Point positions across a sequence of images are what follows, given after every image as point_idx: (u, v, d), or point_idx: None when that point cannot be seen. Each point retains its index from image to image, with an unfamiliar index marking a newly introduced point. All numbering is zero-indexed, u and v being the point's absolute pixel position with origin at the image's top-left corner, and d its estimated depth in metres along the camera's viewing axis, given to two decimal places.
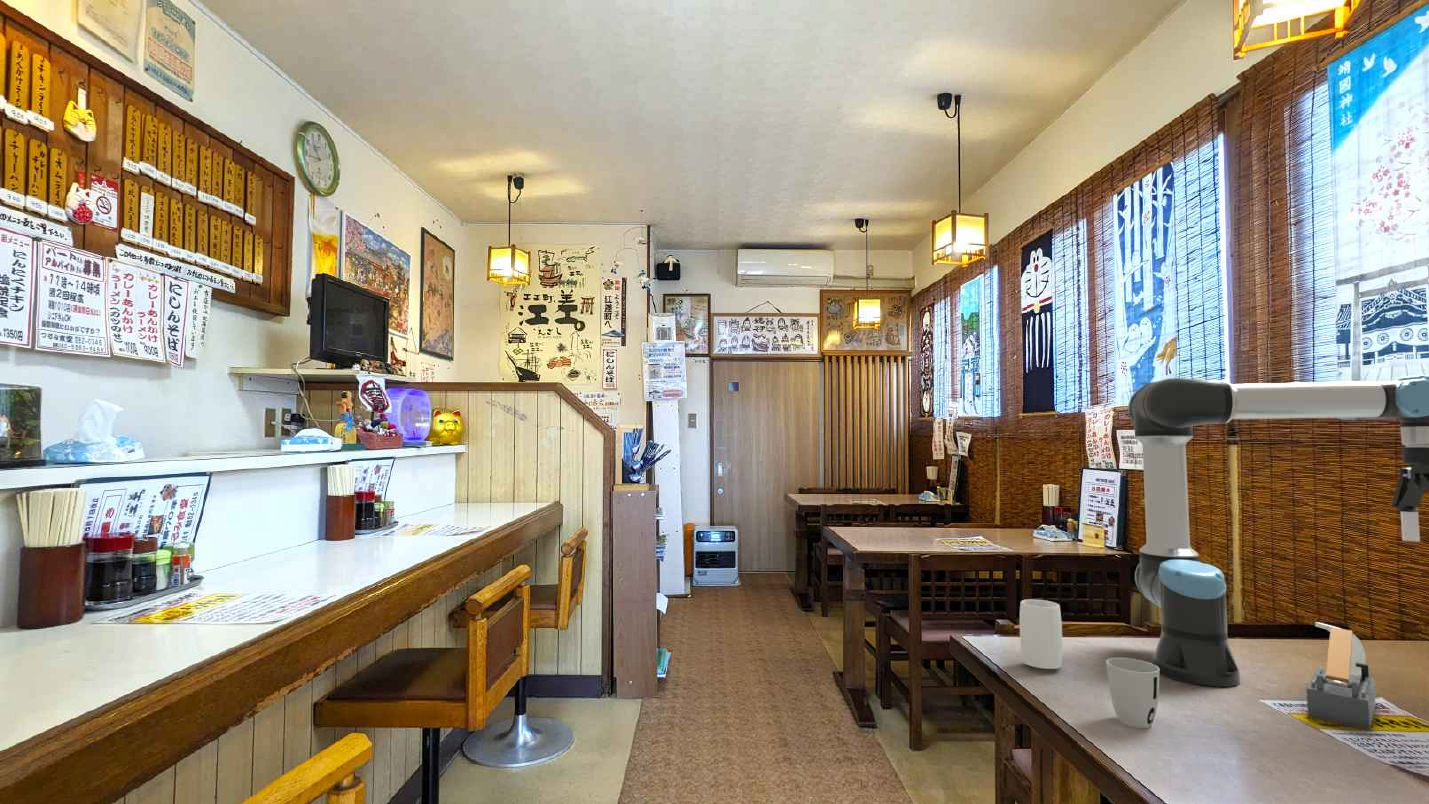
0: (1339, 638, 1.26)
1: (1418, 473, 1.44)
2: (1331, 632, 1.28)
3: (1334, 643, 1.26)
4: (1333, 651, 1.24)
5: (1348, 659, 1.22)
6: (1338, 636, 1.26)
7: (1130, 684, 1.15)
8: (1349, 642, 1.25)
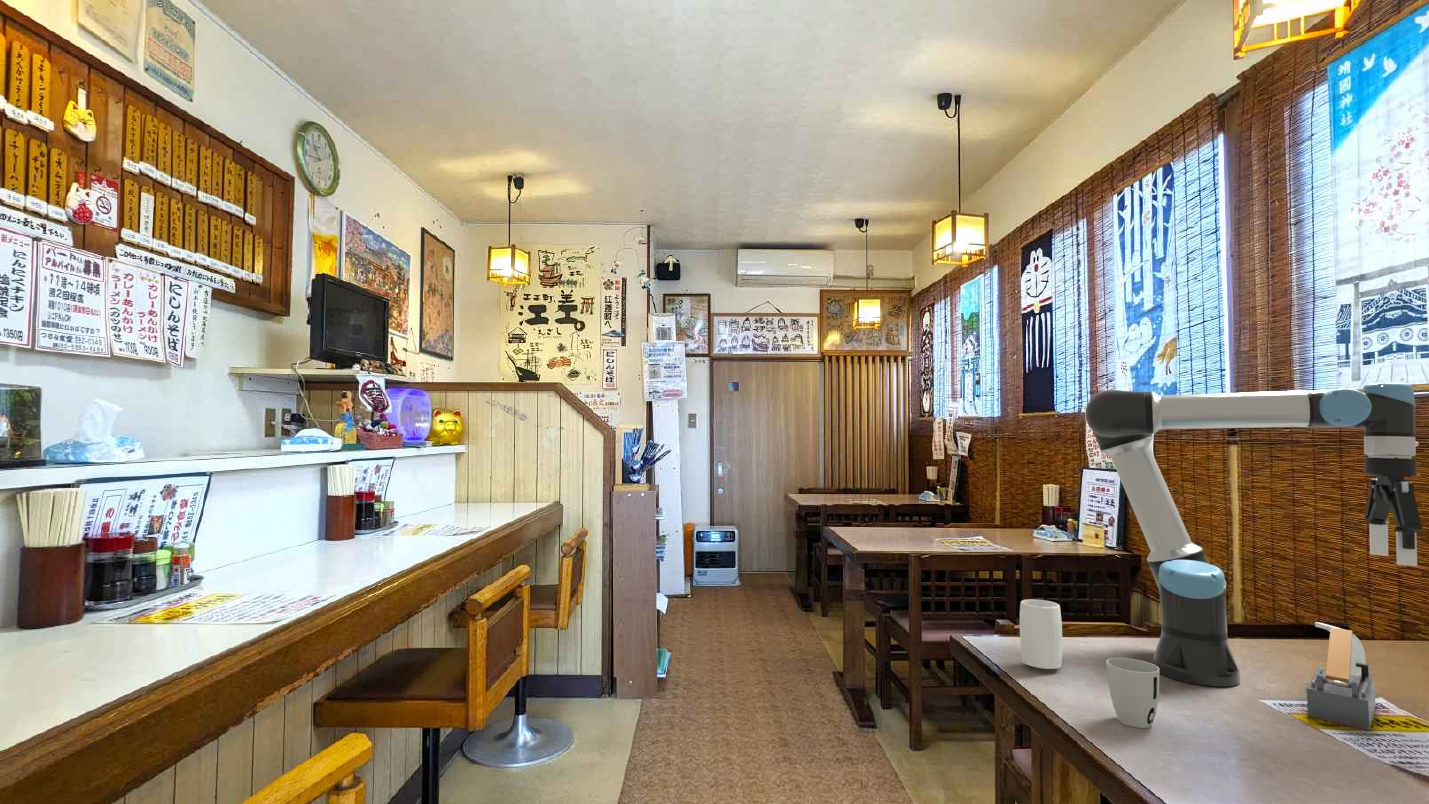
0: (1339, 638, 1.26)
1: (1380, 484, 1.38)
2: (1331, 632, 1.28)
3: (1334, 643, 1.26)
4: (1333, 651, 1.24)
5: (1348, 659, 1.22)
6: (1338, 636, 1.26)
7: (1130, 684, 1.15)
8: (1349, 642, 1.25)
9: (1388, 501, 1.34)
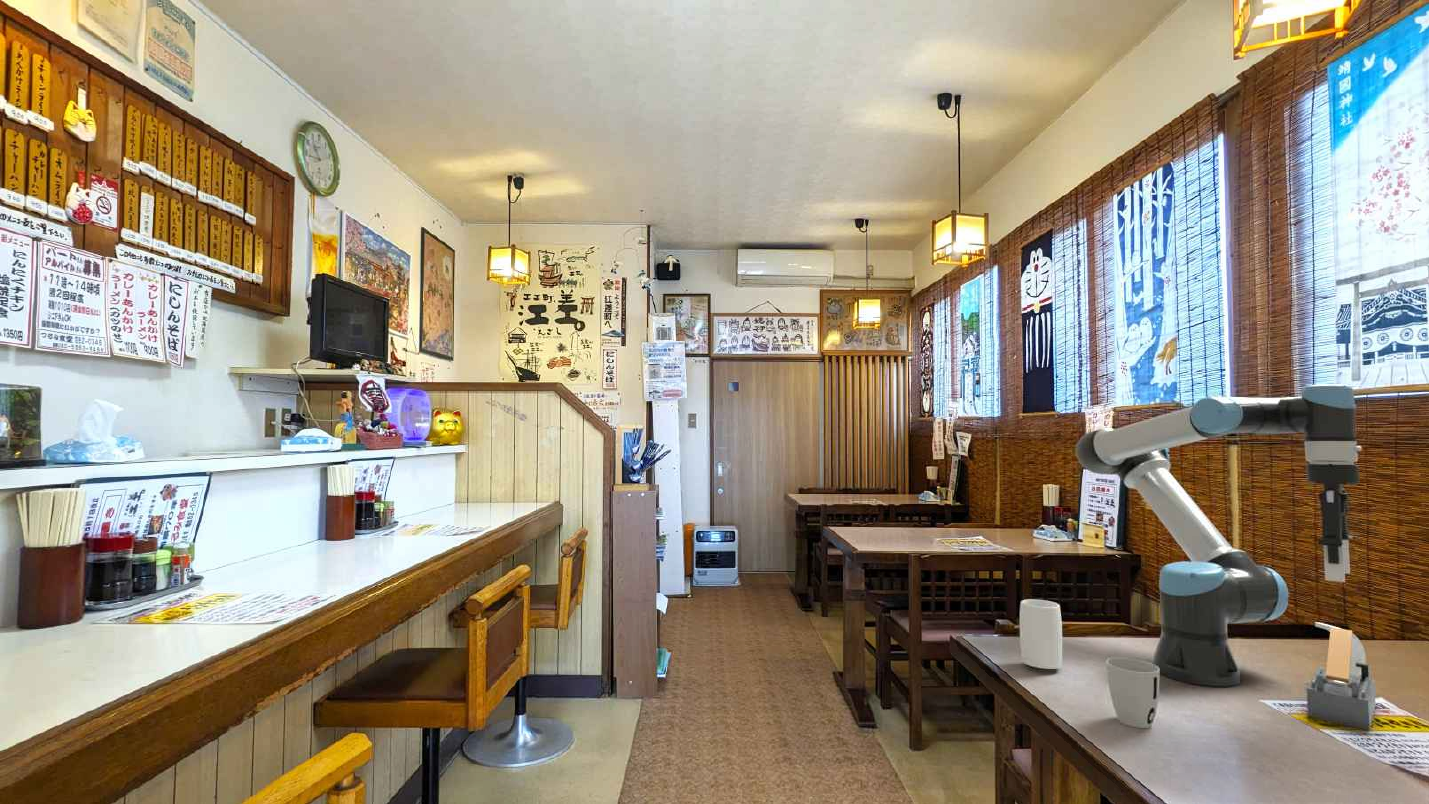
0: (1339, 638, 1.26)
1: None
2: (1331, 632, 1.28)
3: (1334, 643, 1.26)
4: (1333, 651, 1.24)
5: (1348, 659, 1.22)
6: (1338, 636, 1.26)
7: (1130, 684, 1.15)
8: (1349, 642, 1.25)
9: (1321, 511, 1.27)
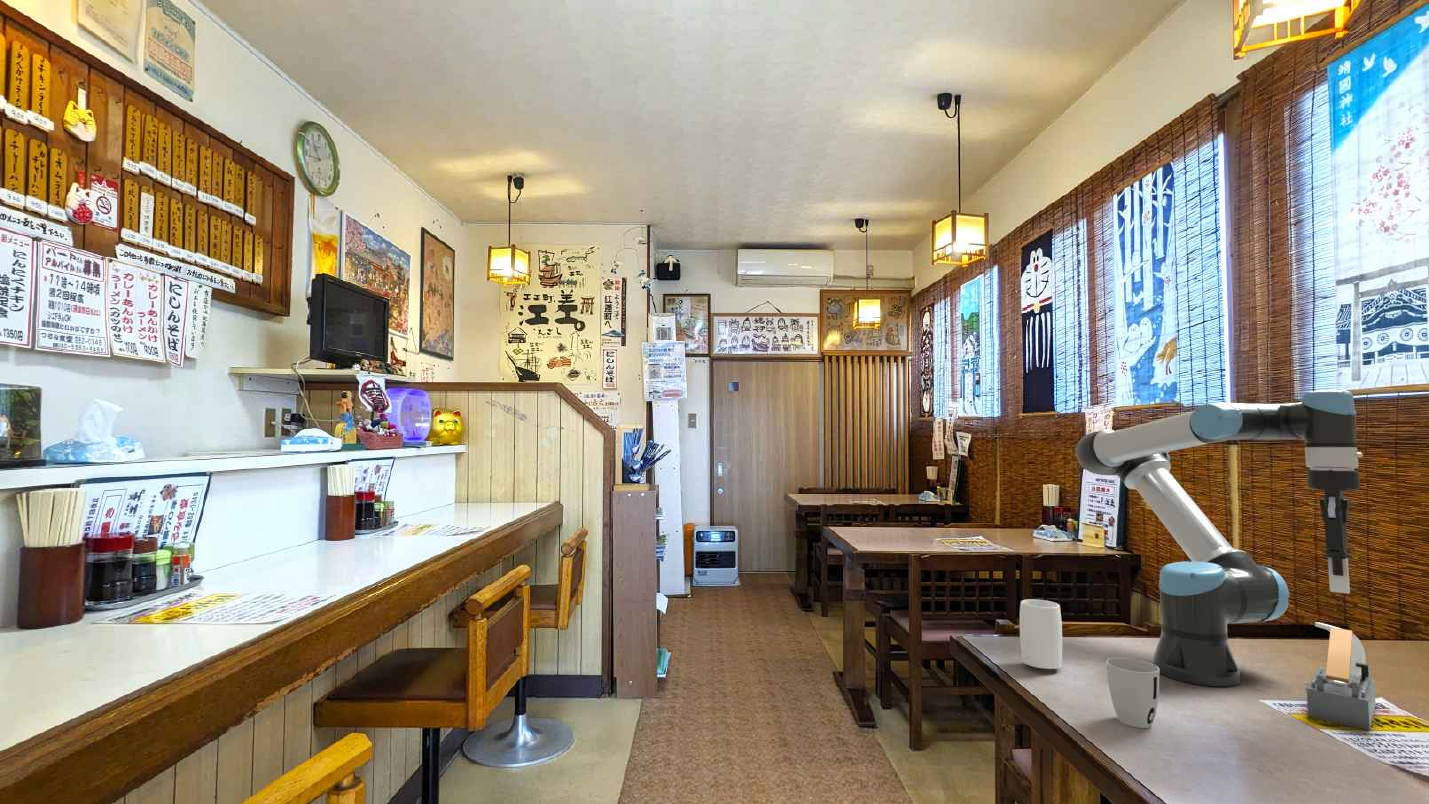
0: (1339, 638, 1.26)
1: None
2: (1331, 632, 1.28)
3: (1334, 643, 1.26)
4: (1333, 651, 1.24)
5: (1348, 659, 1.22)
6: (1338, 636, 1.26)
7: (1130, 684, 1.15)
8: (1349, 642, 1.25)
9: (1323, 520, 1.28)
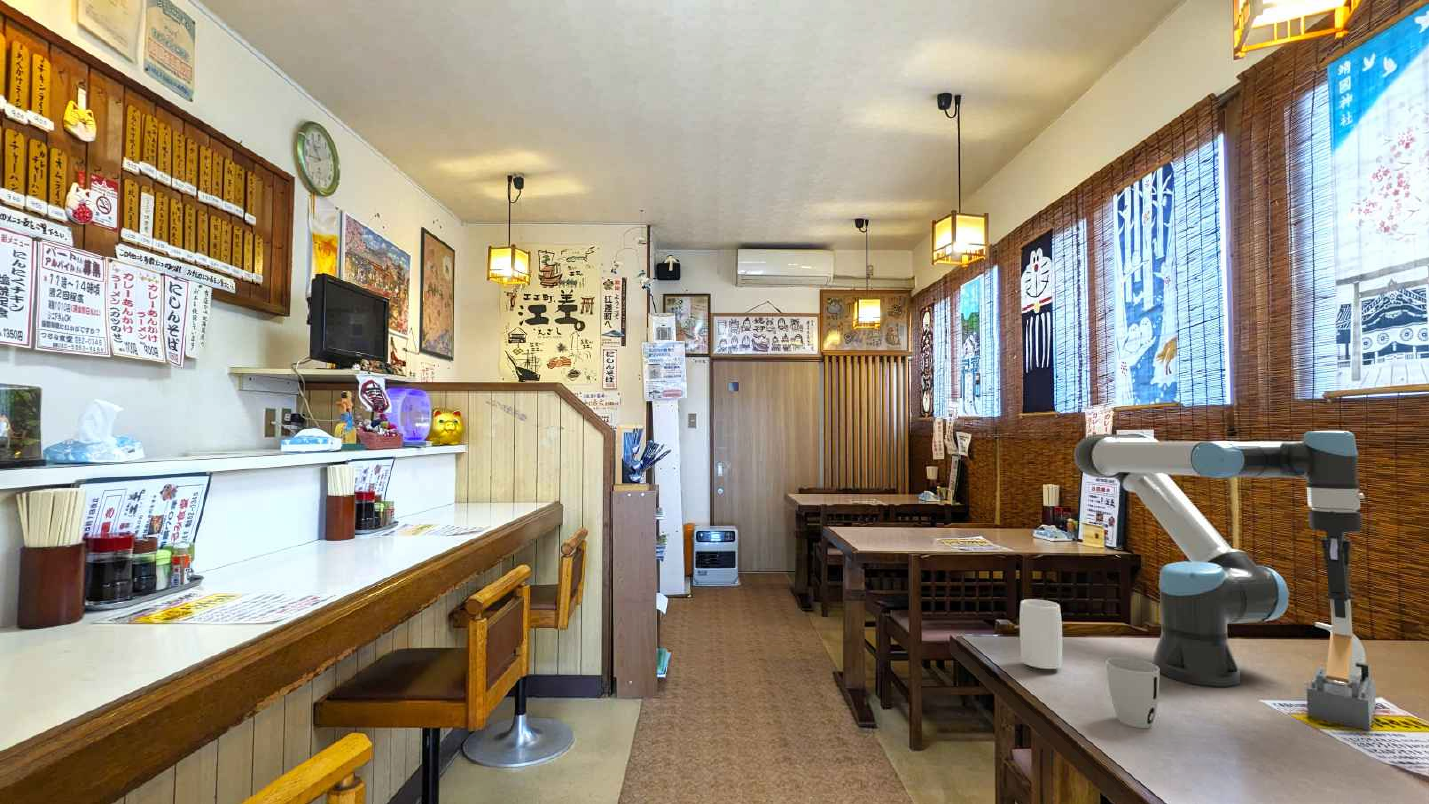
0: (1339, 640, 1.26)
1: None
2: (1331, 634, 1.28)
3: (1334, 644, 1.26)
4: (1333, 653, 1.24)
5: (1348, 660, 1.22)
6: (1338, 638, 1.27)
7: (1130, 684, 1.15)
8: (1349, 644, 1.25)
9: (1325, 561, 1.28)
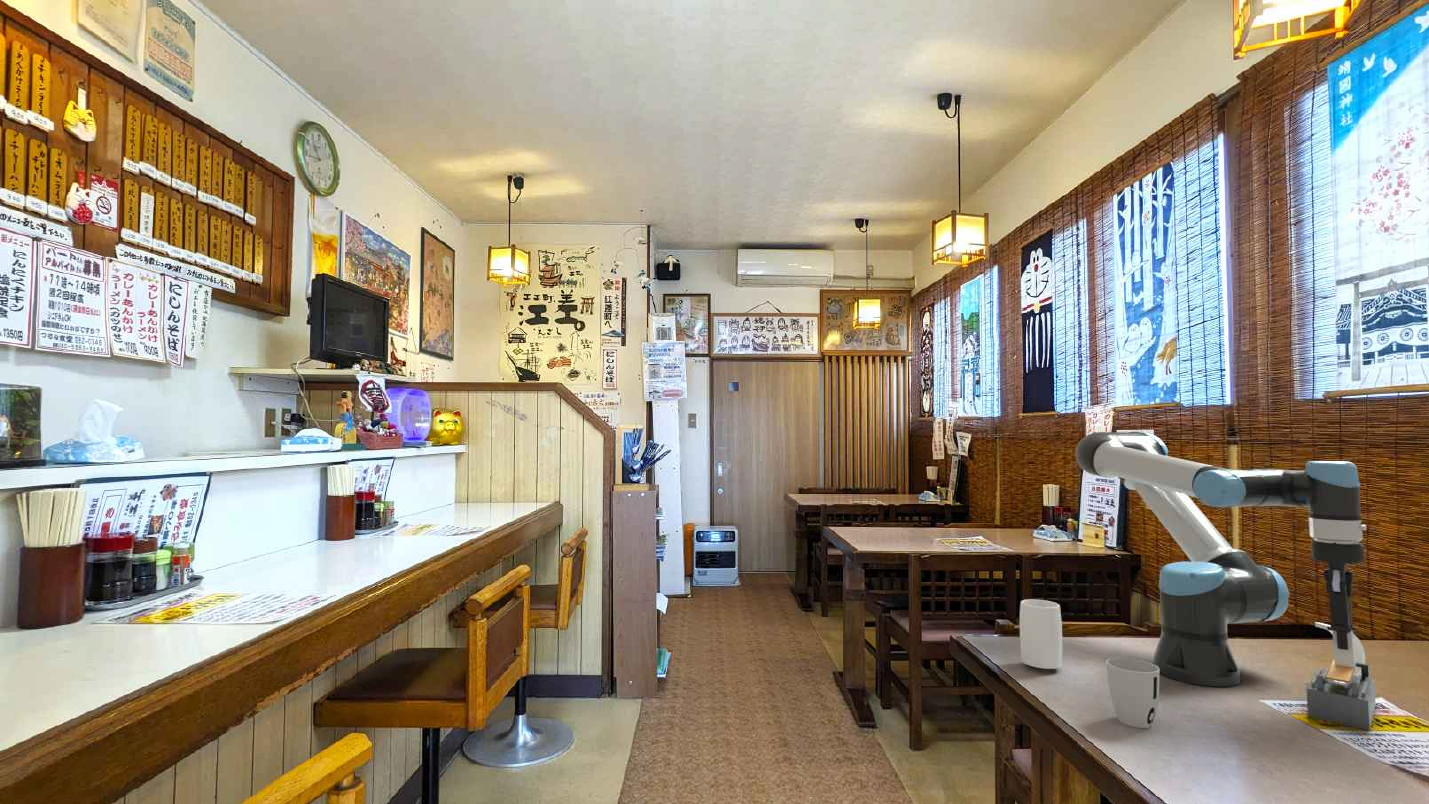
0: None
1: None
2: None
3: (1336, 665, 1.26)
4: (1335, 669, 1.25)
5: (1349, 673, 1.22)
6: None
7: (1130, 684, 1.15)
8: None
9: None
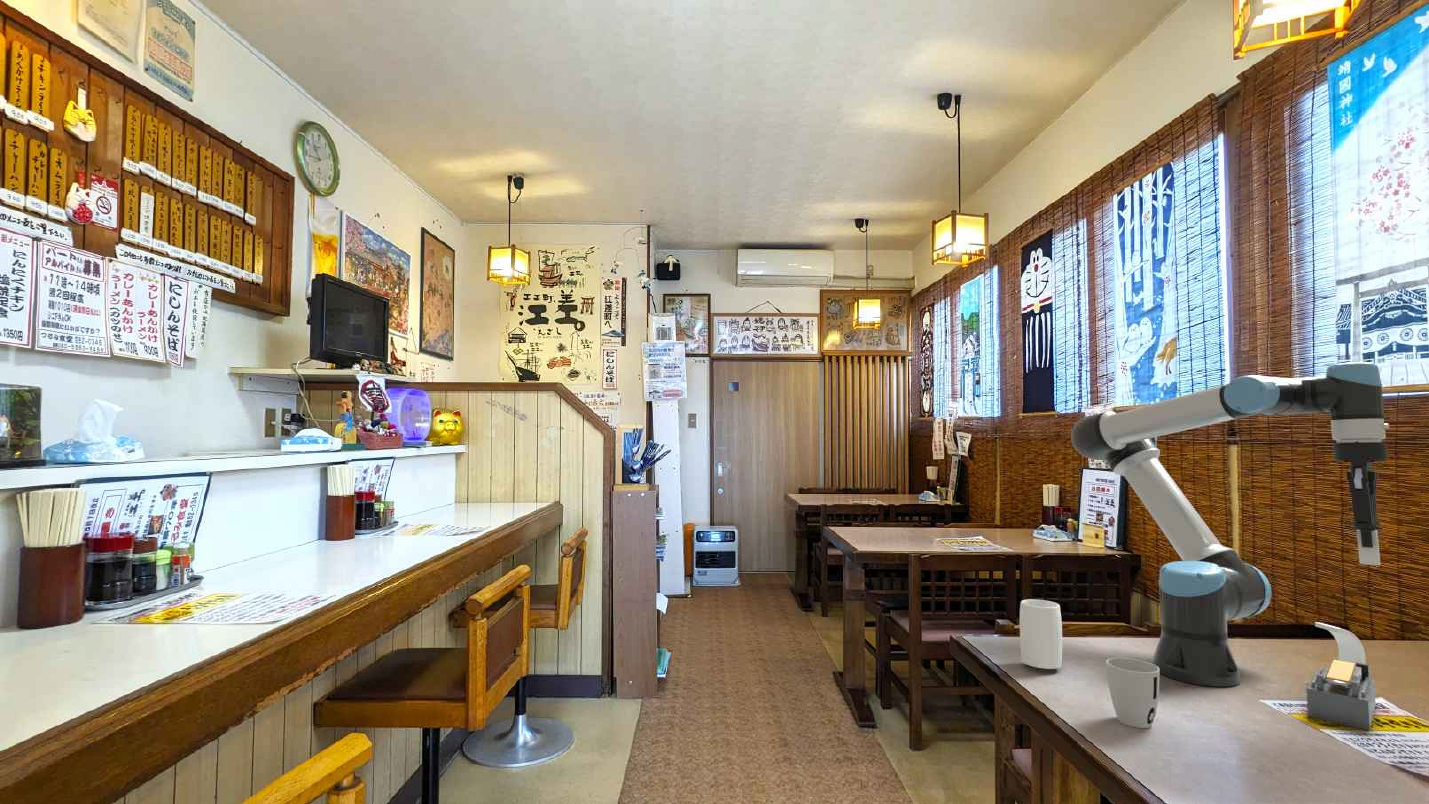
0: (1342, 664, 1.27)
1: None
2: (1334, 661, 1.29)
3: (1336, 665, 1.26)
4: (1335, 669, 1.25)
5: (1349, 673, 1.22)
6: (1341, 663, 1.27)
7: (1130, 684, 1.15)
8: (1351, 667, 1.25)
9: (1351, 493, 1.28)
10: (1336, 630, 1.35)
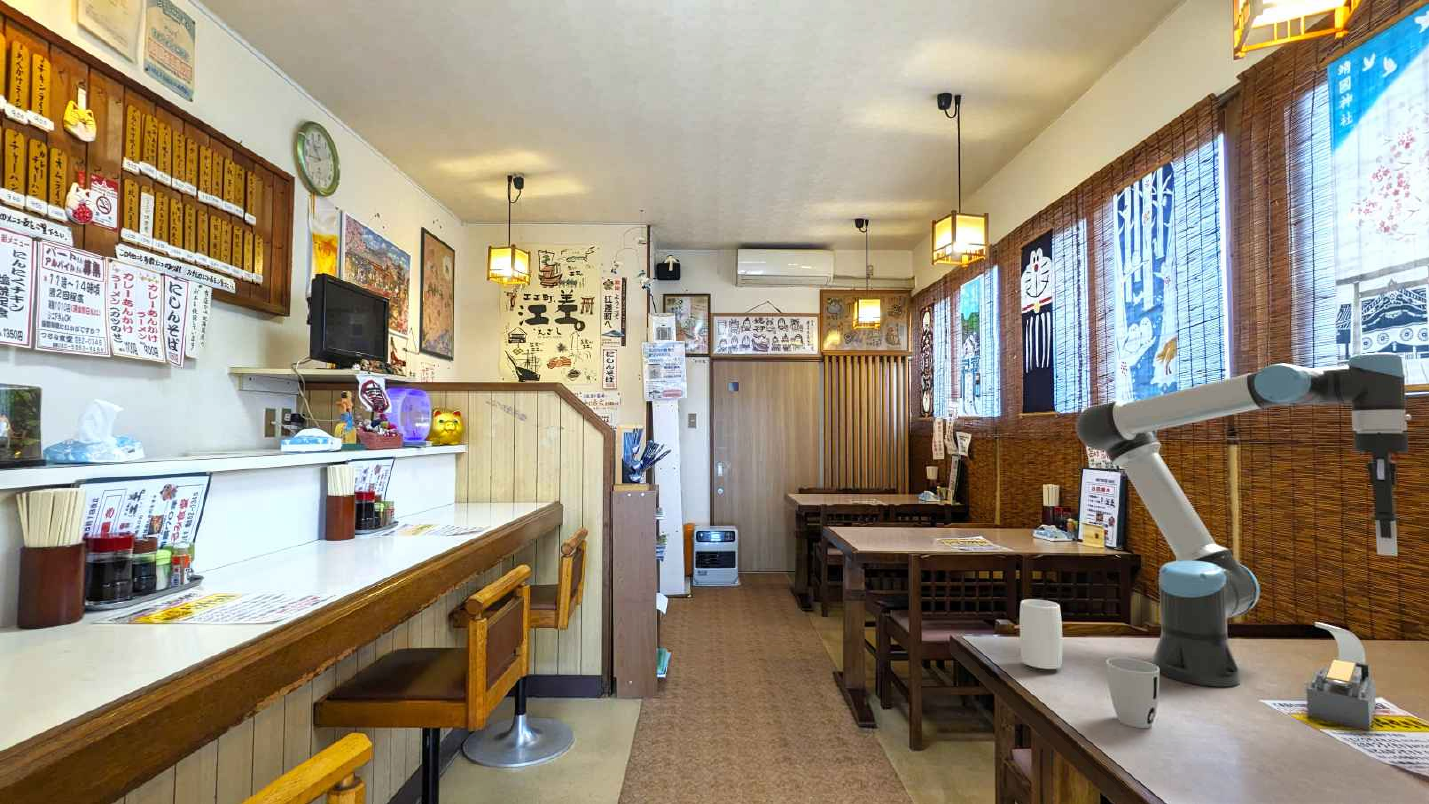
0: (1342, 664, 1.27)
1: None
2: (1334, 661, 1.29)
3: (1336, 665, 1.26)
4: (1335, 669, 1.25)
5: (1349, 673, 1.22)
6: (1341, 663, 1.27)
7: (1130, 684, 1.15)
8: (1351, 667, 1.25)
9: (1371, 483, 1.28)
10: (1336, 630, 1.35)
